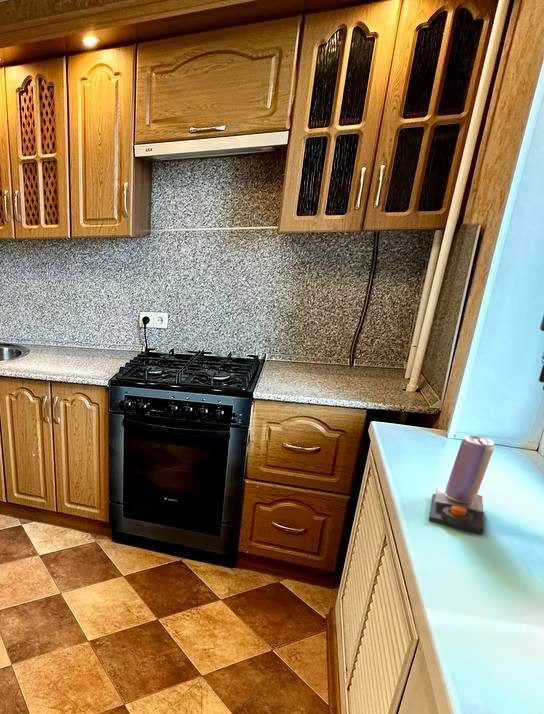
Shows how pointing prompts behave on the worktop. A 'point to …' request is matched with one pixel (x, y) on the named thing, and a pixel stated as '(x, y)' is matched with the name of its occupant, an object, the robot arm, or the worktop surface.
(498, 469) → the worktop surface
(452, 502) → the scale pan
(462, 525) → the scale
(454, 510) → the button
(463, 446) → the beverage can
